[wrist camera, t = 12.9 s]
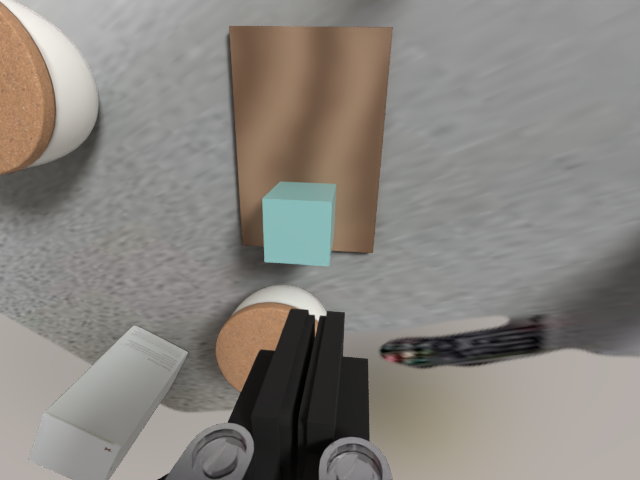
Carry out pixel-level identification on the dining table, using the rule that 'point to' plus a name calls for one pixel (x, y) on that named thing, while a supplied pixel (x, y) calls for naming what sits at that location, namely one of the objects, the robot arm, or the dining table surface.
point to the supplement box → (107, 407)
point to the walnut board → (311, 120)
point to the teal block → (299, 223)
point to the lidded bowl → (41, 91)
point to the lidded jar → (259, 328)
